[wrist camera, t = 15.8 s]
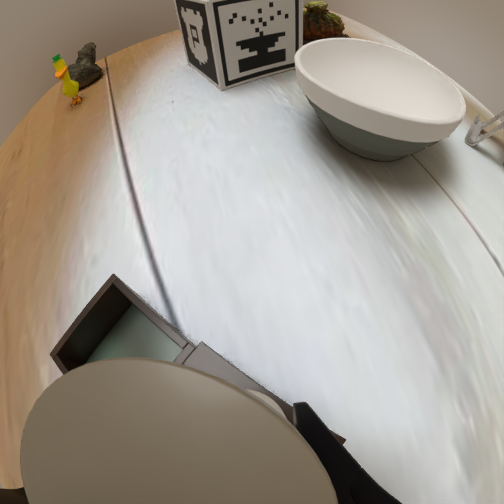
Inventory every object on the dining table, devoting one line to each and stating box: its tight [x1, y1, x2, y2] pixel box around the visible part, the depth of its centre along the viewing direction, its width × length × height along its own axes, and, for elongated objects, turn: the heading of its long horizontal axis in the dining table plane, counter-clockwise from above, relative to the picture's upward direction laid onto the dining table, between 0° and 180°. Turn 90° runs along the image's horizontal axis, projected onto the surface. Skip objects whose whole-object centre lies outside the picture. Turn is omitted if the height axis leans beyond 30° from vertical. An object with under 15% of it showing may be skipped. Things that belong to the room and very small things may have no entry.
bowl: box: [294, 38, 466, 161], centre depth 28 cm, size 20×20×10 cm
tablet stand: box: [465, 111, 504, 166], centre depth 27 cm, size 9×8×8 cm
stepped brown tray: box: [50, 274, 346, 445], centre depth 18 cm, size 9×20×4 cm, turn 53°
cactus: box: [303, 1, 351, 46], centre depth 44 cm, size 17×16×10 cm
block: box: [174, 0, 303, 91], centre depth 36 cm, size 15×15×15 cm
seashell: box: [68, 42, 102, 88], centre depth 45 cm, size 11×12×10 cm
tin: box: [20, 357, 338, 504], centre depth 8 cm, size 5×5×13 cm
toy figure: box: [52, 54, 81, 105], centre depth 39 cm, size 7×4×12 cm, turn 26°
